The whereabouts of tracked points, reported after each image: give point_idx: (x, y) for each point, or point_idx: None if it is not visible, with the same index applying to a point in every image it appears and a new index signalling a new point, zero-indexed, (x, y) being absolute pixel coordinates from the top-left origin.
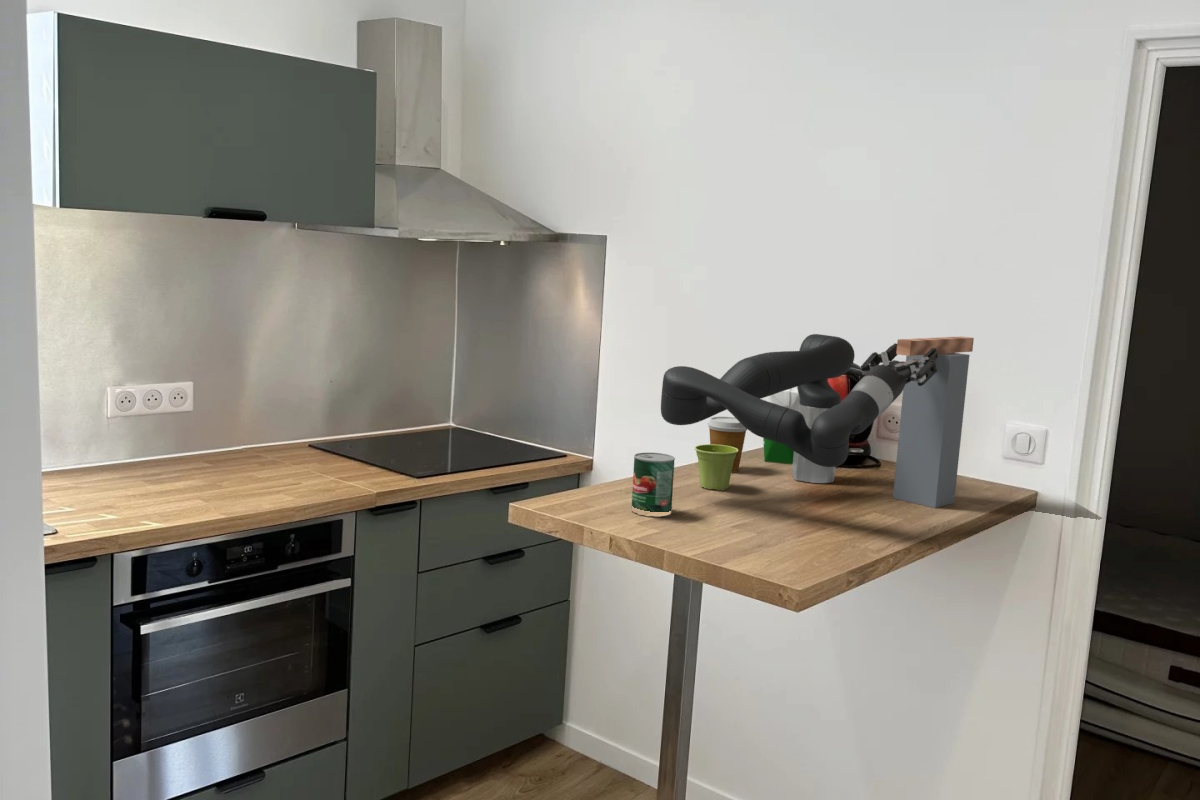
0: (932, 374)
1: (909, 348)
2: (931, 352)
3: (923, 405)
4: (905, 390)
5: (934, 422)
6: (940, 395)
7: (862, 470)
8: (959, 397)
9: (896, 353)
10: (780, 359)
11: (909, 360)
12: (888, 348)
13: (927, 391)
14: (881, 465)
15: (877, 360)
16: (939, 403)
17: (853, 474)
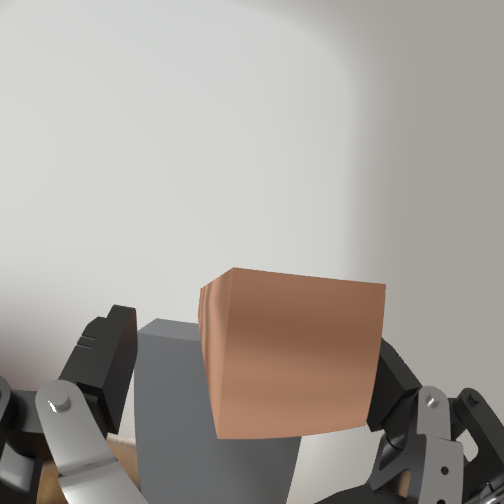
0: (463, 459)
1: (372, 361)
2: (390, 353)
3: (217, 493)
4: (146, 461)
5: None
6: (276, 465)
7: (53, 469)
8: None
9: (220, 431)
10: None
11: (426, 468)
12: (80, 340)
13: (229, 462)
14: None
15: (26, 445)
16: (272, 482)
17: (47, 490)
